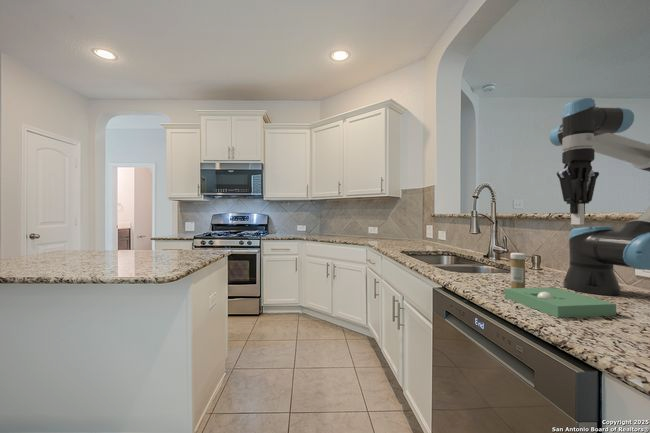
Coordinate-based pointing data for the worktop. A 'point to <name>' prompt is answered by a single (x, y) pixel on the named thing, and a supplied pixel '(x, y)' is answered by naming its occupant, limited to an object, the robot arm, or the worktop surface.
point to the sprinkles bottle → (517, 270)
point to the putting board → (561, 302)
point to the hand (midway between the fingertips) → (577, 224)
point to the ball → (545, 295)
